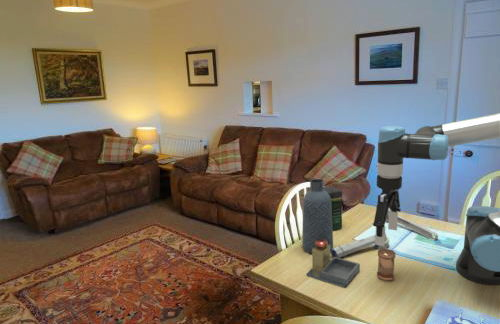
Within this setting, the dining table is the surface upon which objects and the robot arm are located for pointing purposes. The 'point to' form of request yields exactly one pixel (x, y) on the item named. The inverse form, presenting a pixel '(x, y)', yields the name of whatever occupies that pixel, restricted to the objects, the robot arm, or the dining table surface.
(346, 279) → the fitting base
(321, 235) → the vase
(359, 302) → the dining table surface
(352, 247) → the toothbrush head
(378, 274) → the cylinder
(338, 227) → the coffee jar
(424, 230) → the wrench
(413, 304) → the dining table surface
